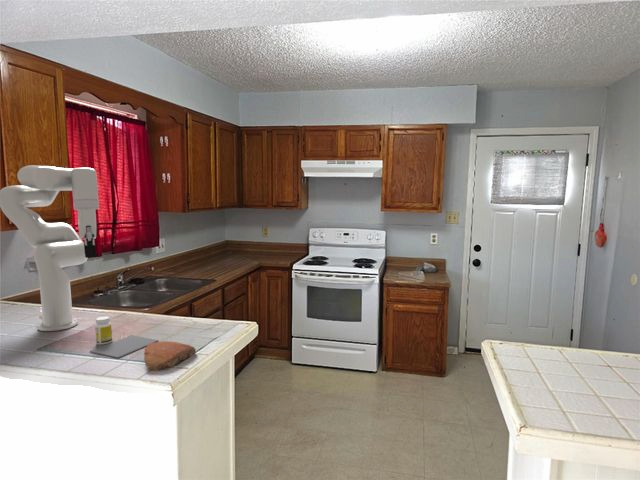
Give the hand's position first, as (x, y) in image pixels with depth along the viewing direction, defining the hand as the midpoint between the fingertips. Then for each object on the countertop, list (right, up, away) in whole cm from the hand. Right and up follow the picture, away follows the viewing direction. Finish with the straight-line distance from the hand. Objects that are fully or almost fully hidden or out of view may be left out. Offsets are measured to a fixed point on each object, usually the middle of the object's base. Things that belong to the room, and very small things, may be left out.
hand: (90, 255), depth 142 cm
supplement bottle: (+6, -29, -2) cm, 30 cm away
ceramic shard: (+31, -31, -17) cm, 47 cm away
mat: (+15, -29, -6) cm, 33 cm away
